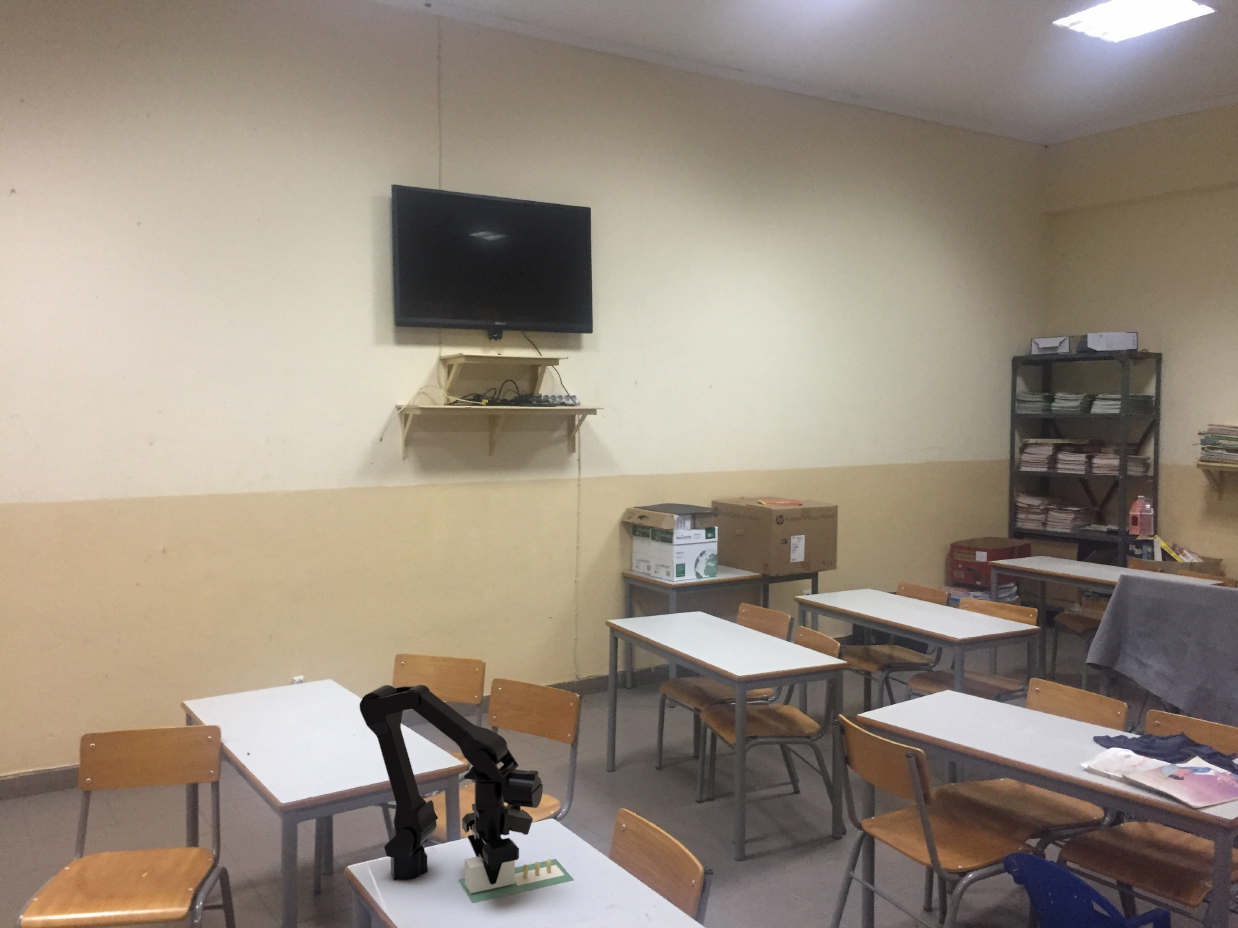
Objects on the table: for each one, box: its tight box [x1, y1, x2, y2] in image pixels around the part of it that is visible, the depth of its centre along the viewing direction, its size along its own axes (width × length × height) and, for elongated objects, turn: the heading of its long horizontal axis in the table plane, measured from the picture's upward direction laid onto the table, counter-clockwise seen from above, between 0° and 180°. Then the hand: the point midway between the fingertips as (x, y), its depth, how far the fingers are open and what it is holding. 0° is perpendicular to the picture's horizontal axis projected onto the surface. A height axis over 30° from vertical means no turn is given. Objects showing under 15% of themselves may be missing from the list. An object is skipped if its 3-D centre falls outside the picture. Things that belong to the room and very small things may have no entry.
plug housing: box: [464, 856, 516, 893], centre depth 182 cm, size 9×4×5 cm, turn 115°
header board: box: [457, 858, 575, 904], centre depth 185 cm, size 21×10×4 cm, turn 115°
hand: (489, 878), depth 182 cm, fingers closed on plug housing, 4 cm apart
